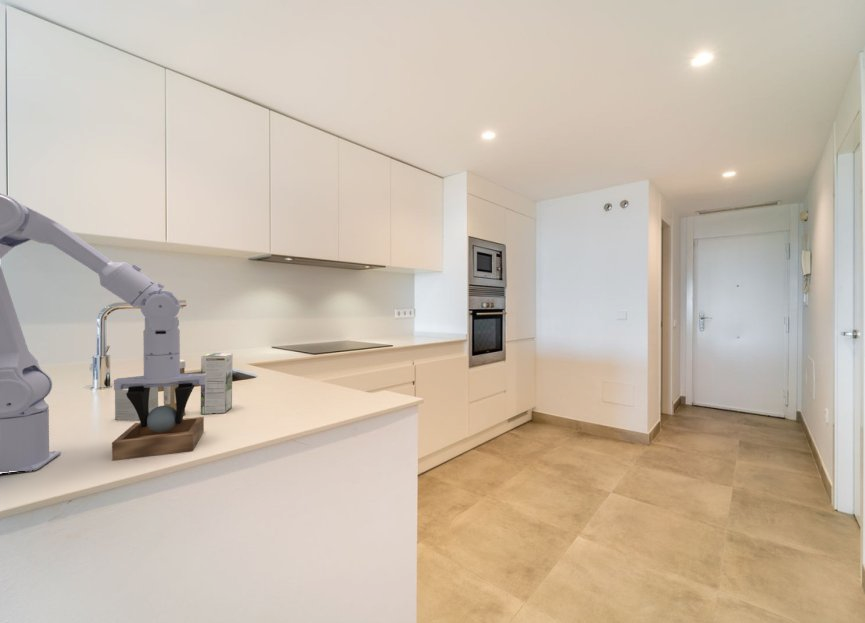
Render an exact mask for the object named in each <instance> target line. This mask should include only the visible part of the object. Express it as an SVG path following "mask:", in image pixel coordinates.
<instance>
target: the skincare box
mask: <svg viewBox="0 0 865 623" xmlns="http://www.w3.org/2000/svg"><path fill="white" fill-rule="evenodd" d="M127 392H128V389H122V390H114V420H115V421H128V420H129V421H132V422H133V421H134V422H140V419H139V417H138V414H137V412H136V410H135V408H134V406H133V404H132V403H131V401H130V400H129V399H128V398H127V395H126V393H127ZM156 407H159V387H150V392H149V404H148V408H149V413H150V412H151V411H152V410H153V409H154V408H156Z"/></svg>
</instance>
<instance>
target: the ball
mask: <svg viewBox="0 0 865 623" xmlns="http://www.w3.org/2000/svg"><path fill="white" fill-rule="evenodd" d="M175 424H176V410H175V409H174V408H172V407H170V406H164V405H158V407H156V408H154V409H153V410H152V411H151V412H150V413H149V414H148V416H147V425H148V427H149V428H150V429H151V430H152V431H154V432H166V431H168V430H170V429H172V428H173V427H174V426H175Z"/></svg>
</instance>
